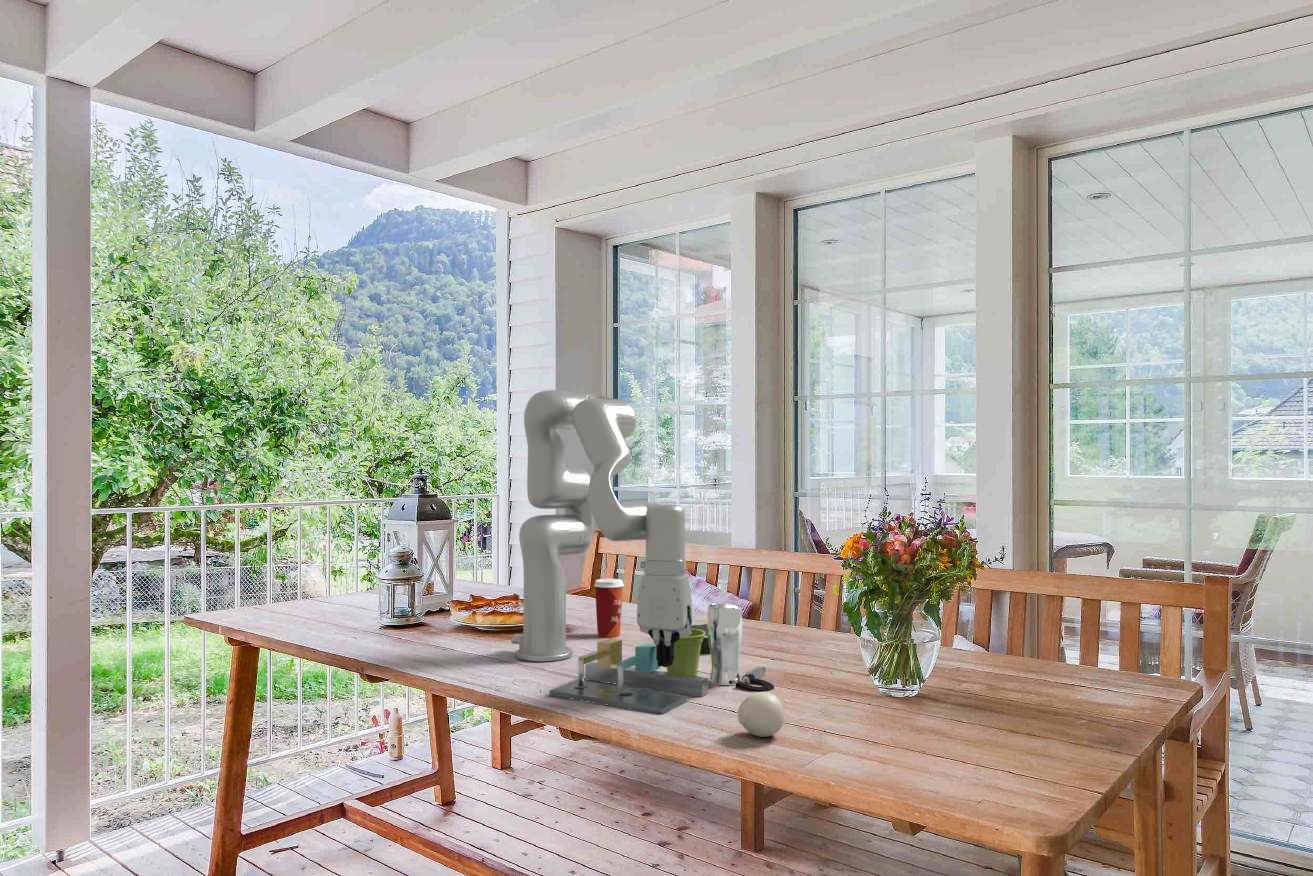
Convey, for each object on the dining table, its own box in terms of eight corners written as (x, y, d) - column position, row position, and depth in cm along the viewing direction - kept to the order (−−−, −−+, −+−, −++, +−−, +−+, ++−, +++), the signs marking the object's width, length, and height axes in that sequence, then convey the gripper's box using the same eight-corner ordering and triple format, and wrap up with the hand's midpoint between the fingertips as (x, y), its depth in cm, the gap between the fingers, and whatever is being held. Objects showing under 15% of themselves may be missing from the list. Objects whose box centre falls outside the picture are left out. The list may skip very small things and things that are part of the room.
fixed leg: (572, 685, 158) (573, 650, 158) (609, 671, 169) (609, 638, 169) (586, 687, 156) (586, 652, 156) (621, 672, 167) (622, 640, 167)
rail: (585, 679, 167) (585, 664, 167) (591, 677, 169) (592, 662, 170) (702, 696, 155) (702, 680, 155) (707, 694, 157) (707, 677, 157)
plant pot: (701, 681, 166) (701, 637, 166) (655, 679, 168) (655, 635, 168) (708, 670, 175) (708, 628, 175) (664, 668, 177) (664, 627, 177)
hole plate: (549, 695, 155) (549, 690, 155) (577, 685, 163) (577, 679, 163) (662, 714, 144) (662, 708, 144) (686, 701, 151) (686, 695, 151)
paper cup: (623, 638, 208) (623, 582, 209) (592, 638, 208) (592, 582, 209) (624, 632, 216) (624, 578, 217) (595, 632, 216) (595, 578, 217)
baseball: (734, 729, 135) (734, 687, 135) (779, 728, 136) (778, 687, 136) (741, 743, 128) (741, 699, 129) (788, 742, 129) (788, 698, 129)
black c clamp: (767, 695, 157) (766, 682, 157) (731, 691, 160) (731, 678, 160) (791, 678, 171) (791, 665, 171) (758, 674, 174) (758, 662, 174)
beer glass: (746, 679, 168) (745, 603, 168) (737, 687, 161) (737, 609, 162) (712, 676, 170) (712, 602, 171) (703, 684, 164) (702, 607, 164)
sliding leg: (612, 691, 153) (612, 655, 154) (646, 676, 164) (646, 643, 165) (626, 693, 152) (626, 657, 152) (659, 678, 163) (660, 644, 163)
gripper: (621, 568, 161) (621, 665, 160) (691, 573, 154) (691, 674, 153) (641, 564, 168) (641, 657, 167) (708, 569, 160) (709, 666, 160)
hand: (665, 665), depth 160 cm, fingers closed
